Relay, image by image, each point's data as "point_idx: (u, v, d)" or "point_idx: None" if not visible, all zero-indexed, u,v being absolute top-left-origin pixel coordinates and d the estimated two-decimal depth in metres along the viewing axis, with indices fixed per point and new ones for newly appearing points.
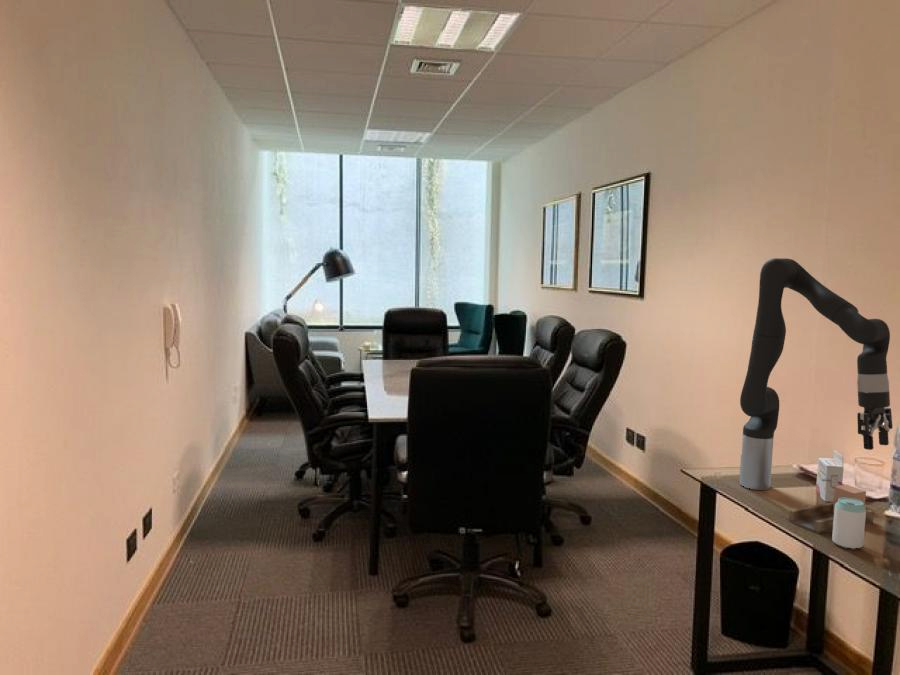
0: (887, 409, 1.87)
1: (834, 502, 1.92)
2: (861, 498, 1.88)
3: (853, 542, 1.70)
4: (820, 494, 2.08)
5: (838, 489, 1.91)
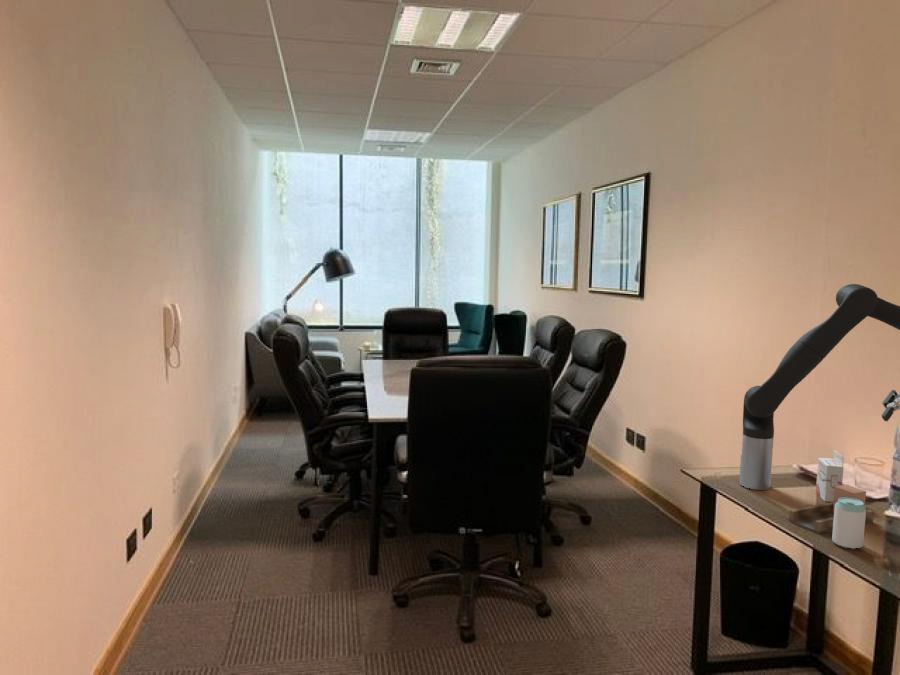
0: None
1: (834, 502, 1.92)
2: (861, 498, 1.88)
3: (853, 542, 1.70)
4: (820, 494, 2.08)
5: (838, 489, 1.91)
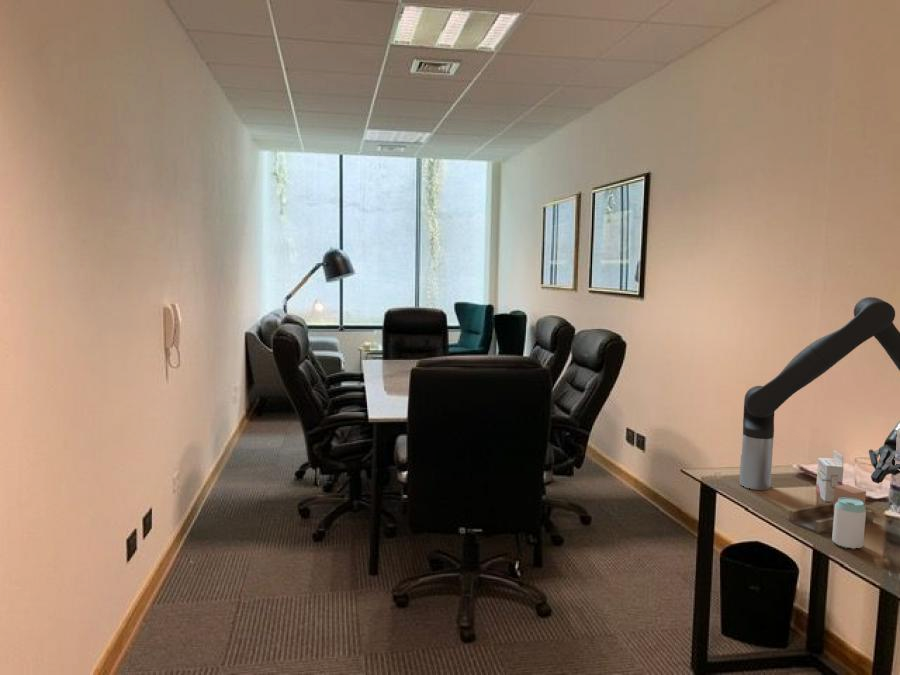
0: None
1: (834, 502, 1.92)
2: (861, 498, 1.88)
3: (853, 542, 1.70)
4: (820, 494, 2.08)
5: (838, 489, 1.91)
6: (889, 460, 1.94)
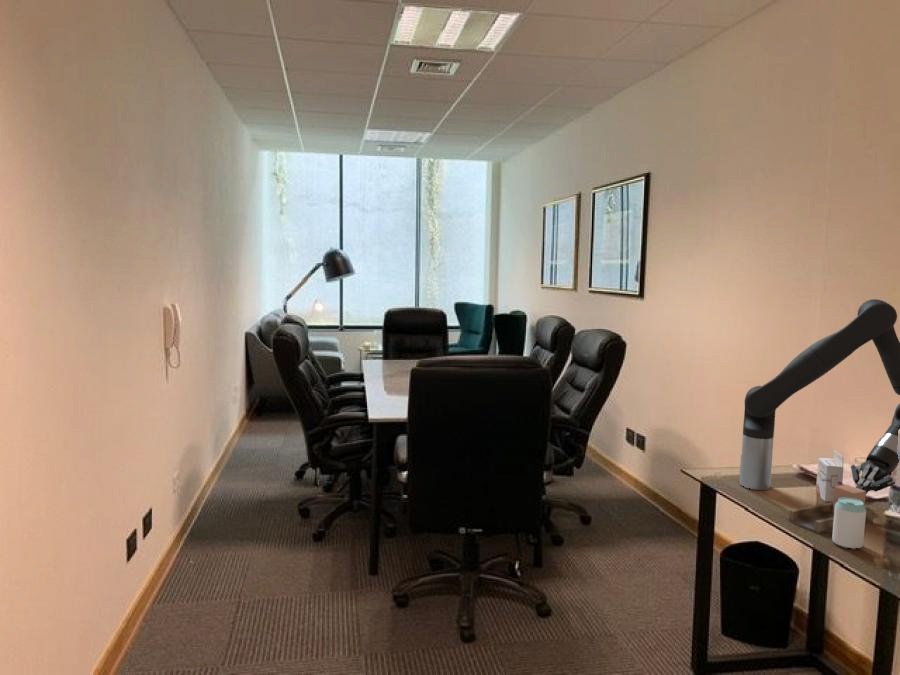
0: None
1: (834, 502, 1.92)
2: (861, 498, 1.88)
3: (853, 542, 1.70)
4: (820, 494, 2.08)
5: (838, 489, 1.91)
6: (871, 476, 1.91)
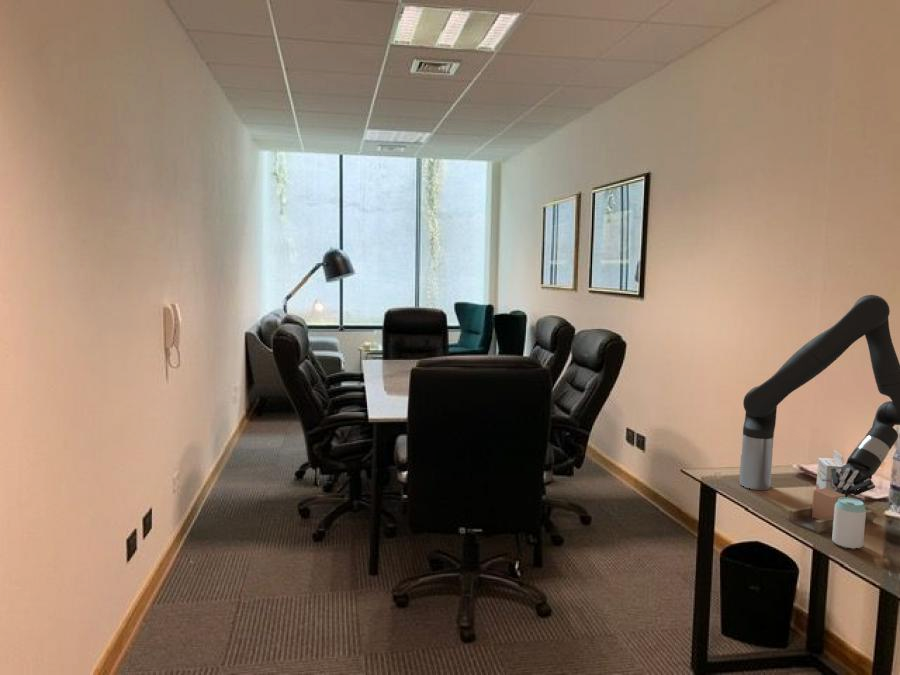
0: None
1: (813, 506, 1.89)
2: None
3: (853, 542, 1.70)
4: None
5: (817, 493, 1.88)
6: (851, 480, 1.88)
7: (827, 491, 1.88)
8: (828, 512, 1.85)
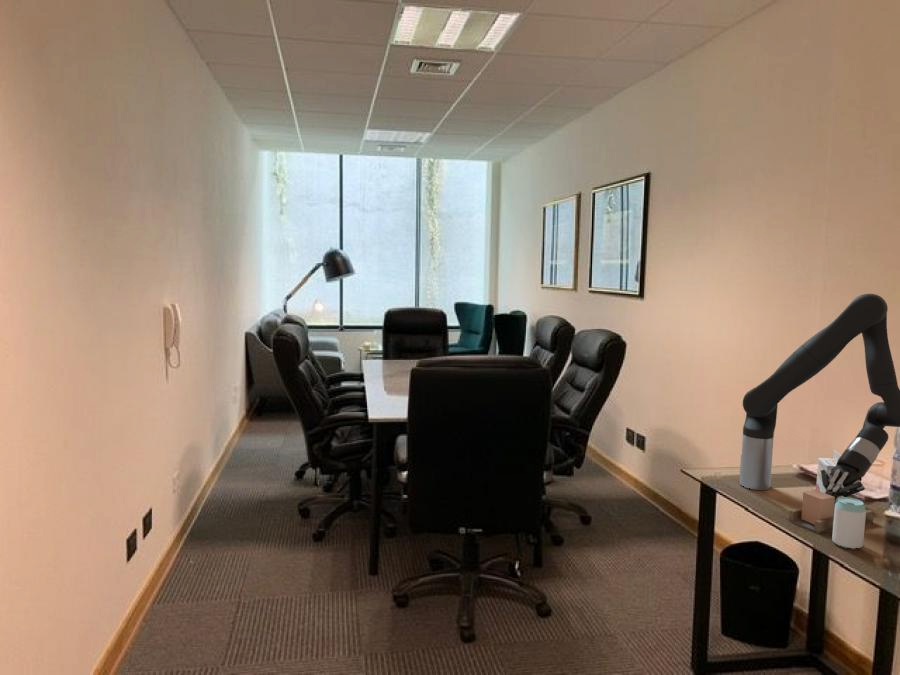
0: None
1: (803, 508, 1.88)
2: (830, 504, 1.83)
3: (853, 542, 1.70)
4: None
5: (806, 495, 1.86)
6: (840, 481, 1.87)
7: (816, 493, 1.86)
8: (817, 515, 1.83)
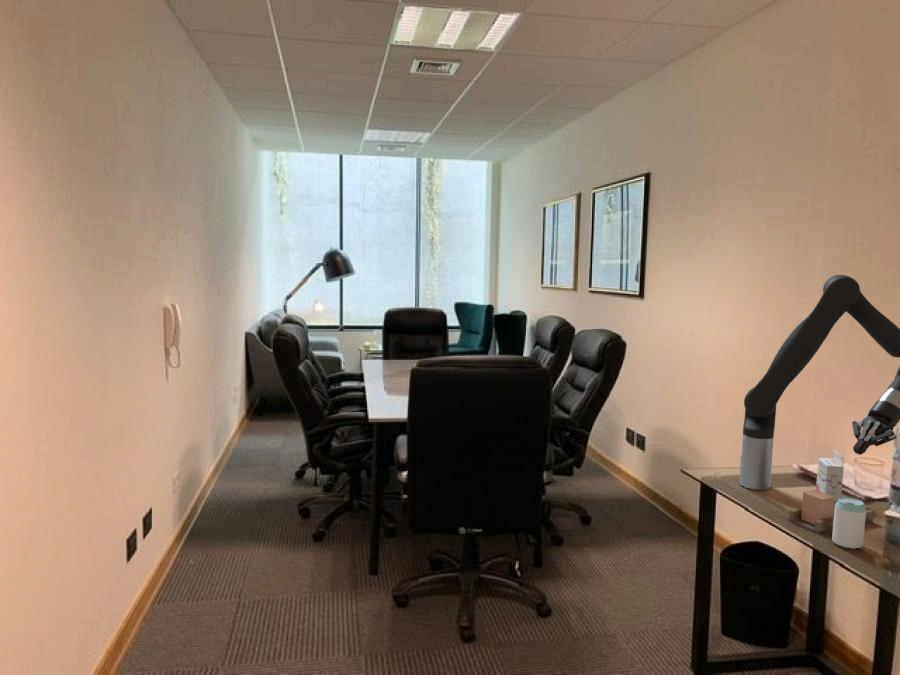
0: None
1: (802, 508, 1.88)
2: (829, 504, 1.83)
3: (853, 542, 1.70)
4: None
5: (806, 495, 1.86)
6: (872, 431, 1.89)
7: (816, 493, 1.86)
8: (817, 515, 1.83)
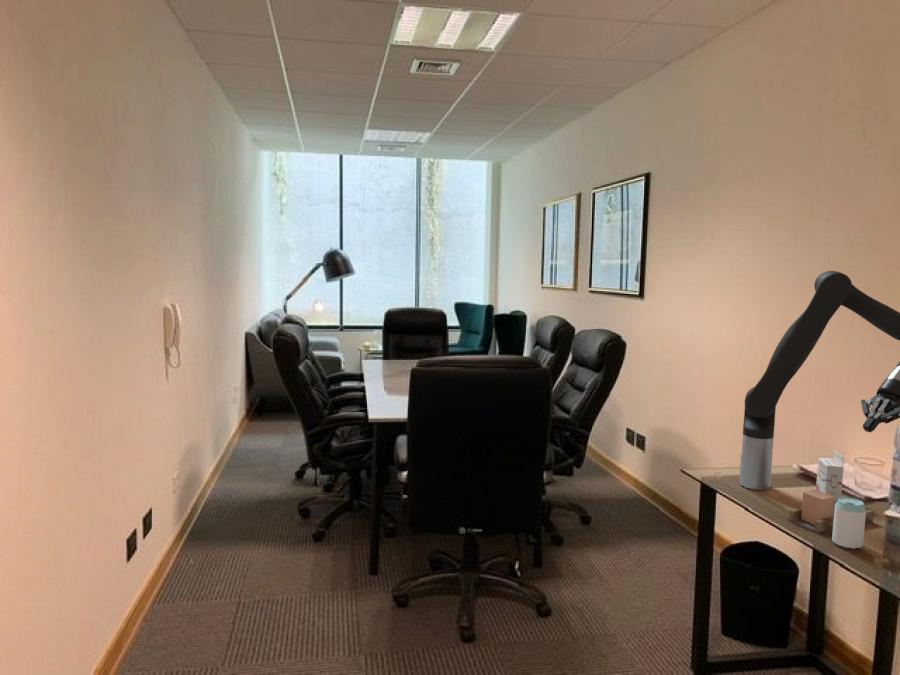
0: None
1: (802, 508, 1.88)
2: (829, 504, 1.83)
3: (853, 542, 1.70)
4: None
5: (806, 495, 1.86)
6: (881, 408, 1.90)
7: (816, 493, 1.86)
8: (817, 515, 1.83)
